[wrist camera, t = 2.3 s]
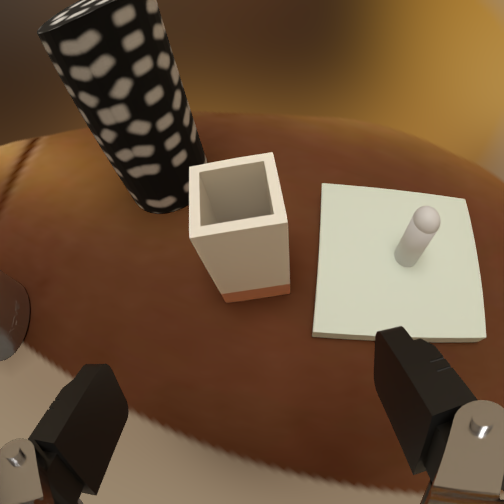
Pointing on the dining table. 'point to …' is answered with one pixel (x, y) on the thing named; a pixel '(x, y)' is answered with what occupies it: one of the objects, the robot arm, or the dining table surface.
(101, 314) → the dining table surface
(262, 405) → the dining table surface
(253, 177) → the sleeve
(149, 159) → the spotted tube
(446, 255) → the pin board
